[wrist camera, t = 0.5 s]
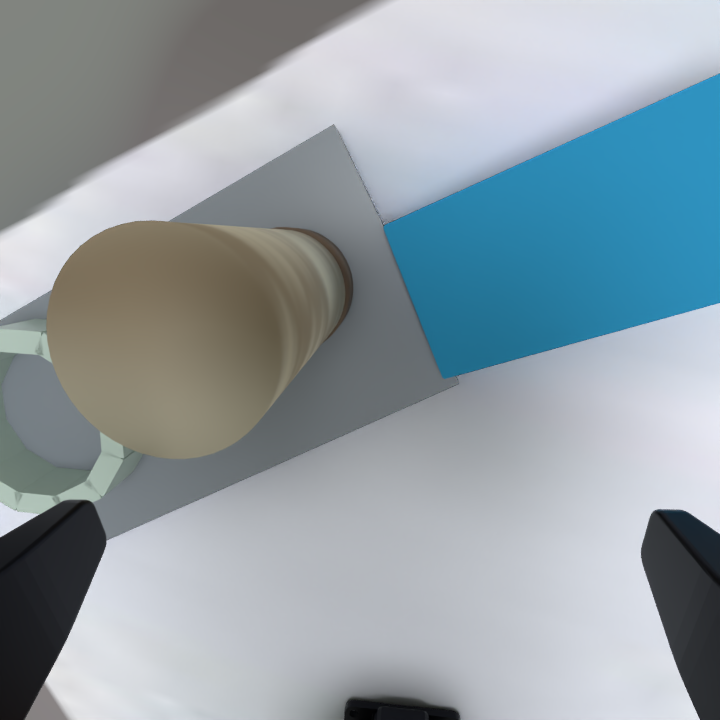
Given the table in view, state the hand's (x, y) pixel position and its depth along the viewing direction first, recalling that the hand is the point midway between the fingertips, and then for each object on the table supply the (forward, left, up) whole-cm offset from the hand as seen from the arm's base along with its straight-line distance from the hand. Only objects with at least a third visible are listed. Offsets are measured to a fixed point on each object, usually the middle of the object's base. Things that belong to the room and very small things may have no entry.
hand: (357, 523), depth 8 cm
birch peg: (+2, +4, -14) cm, 15 cm away
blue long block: (+6, -10, -16) cm, 19 cm away
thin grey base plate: (-2, +9, -15) cm, 18 cm away
